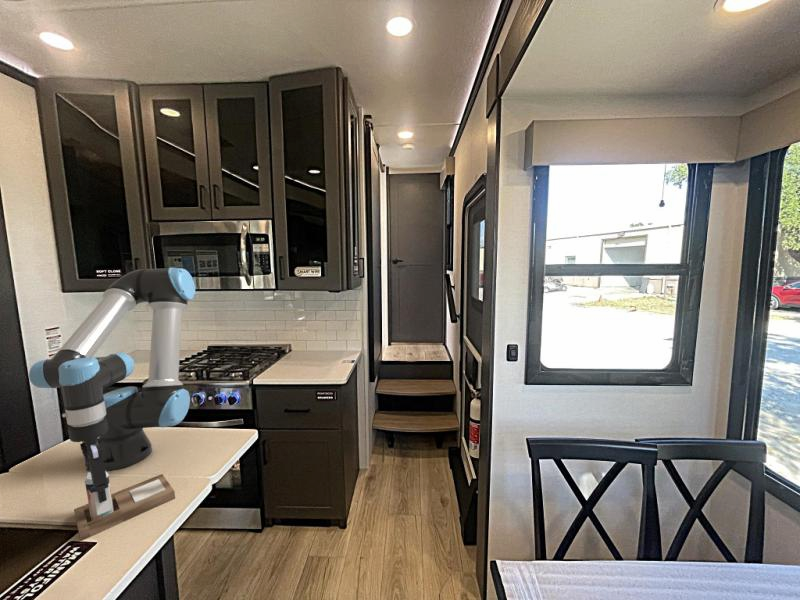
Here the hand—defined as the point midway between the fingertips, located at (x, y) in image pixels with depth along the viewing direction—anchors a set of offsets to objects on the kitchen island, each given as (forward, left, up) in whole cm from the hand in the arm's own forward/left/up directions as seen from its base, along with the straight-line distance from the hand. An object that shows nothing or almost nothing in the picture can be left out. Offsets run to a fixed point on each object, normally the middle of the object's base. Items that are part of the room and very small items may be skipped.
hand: (100, 502), depth 95 cm
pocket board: (0, +5, -4) cm, 7 cm away
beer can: (0, 0, -4) cm, 4 cm away
